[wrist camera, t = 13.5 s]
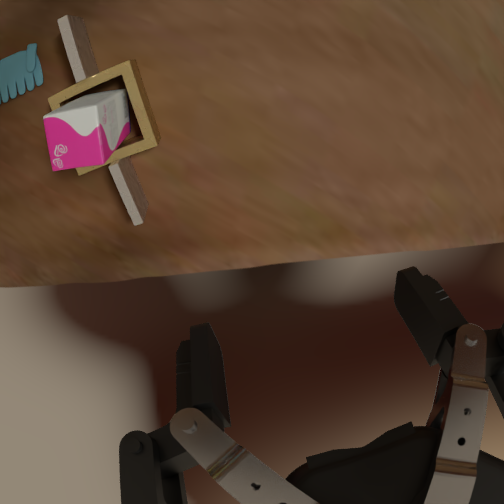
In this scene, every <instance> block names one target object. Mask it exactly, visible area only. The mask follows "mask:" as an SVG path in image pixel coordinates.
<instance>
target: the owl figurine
mask: <svg viewBox="0 0 504 504" xmlns="http://www.w3.org/2000/svg"><path fill="white" fill-rule="evenodd" d="M36 50H37V44H36V43H34V44H29V45H28V46H27V50H26V51H19V52H17V53H15V54H13V55H10V56H8V57H6V58H4V59H2V60H0V92H1V95H0V104H1V97H2V100H3V102H7V101H8V99H9V94H10V97H11V98H12V99H14V98H15V97H16V95H17V88H18V92H19V94H20V95H22V94H24V93H25V91H26V86H27V89H28V90H29V91H32V90H33V89H34V85H35V84H34V78H35V82H36V85H37V86H40V85H42V83H43V74H42V69H41V65H40V61H39V59H38V56H37V54H36ZM33 74H34V75H33ZM25 82H26V86H25ZM16 84H17V88H16ZM8 89H9V93H8Z"/></svg>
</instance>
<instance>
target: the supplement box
mask: <svg viewBox="0 0 504 504" xmlns="http://www.w3.org/2000/svg"><path fill="white" fill-rule="evenodd" d="M43 120H44V126H45V133H46V139H47V144H48V149H49V155H50V160H51V165H52V169H53V171H58V170H64V169H71V168H79V167H88V166H97V165H104V164H105V162H106V161H107V160H108V159H109V157H110V156H111V155H112V153H113V152H114V151H115V150H116V149H117V147H118V146H119V145H120V144H121V143H122V141H123V140H124V139H125V138H126V137H127V135H128V134H129V133H130V132H131V127H130V114H129V101H128V91H127V89H118V90H111V91H104V92H98V93H92V94H87V95H84V96H82V97H80V98H78V99H76V100H74V101H71V102H69V103H68V104H66V105H63V106H62V107H60V108H58V109H56V110H54V111H52V112H50V113H48V114H46V115H45V116H43Z"/></svg>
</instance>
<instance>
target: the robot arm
mask: <svg viewBox="0 0 504 504" xmlns="http://www.w3.org/2000/svg"><path fill="white" fill-rule="evenodd" d="M394 302H395V306H396V308H397V310H398V312H399V314H400V315H401V317H402V318H403V320H404V322H405V323H406V325H407V327H408V328H409V330H410V332H411V333H412V335H413V337H414V339H415V340H416V342H417V344H418V346H419V347H420V349H421V351H422V353H423V354H424V356H425V358H426V360H427V362H428V363H429V365H430V366H433V365H435V364H437V363H439V365H440V366H441V369H440V372H439V377H438V382H437V387H436V392H435V397H434V402H433V406H432V410H431V412H430V414H429V417H428V420H427V422H426V426H415V427H413V424H412V422H409V423H407V424H404V425H402V426H399V427H397V428H394V429H392V430H389V431H387V432H385V433H384V434H383V435H381V436H380V437H378V438H377V439H375V440H374V441H372V442H371V443H369V444H367V445H366V446H364V447H361V448H350V449H337V450H331V451H327V452H324V453H320V454H317V455H313V456H309V457H306V459H307V463H305V464H303V465H301V466H299V467H298V468H296V469H295V470H294V471H293V472H292V473H290V474H289V475H288V477H287V478H286V479H284V478H282V477H281V476H279V475H278V474H277V473H275V472H274V471H273V470H272V469H270V468H269V467H268V466H266V465H265V464H264V463H262V462H261V461H260V460H258V459H257V458H256V457H255V456H254V455H252V454H251V453H250V452H249V451H247V450H246V449H245V448H243V447H242V446H240V445H238V444H237V443H236V442H235V441H234V440H232V439H231V438H230V437H229V436H228V435H227V434H226V433H224V428H225V427H230V426H231V422H230V414H229V406H228V398H227V390H226V382H225V373H224V364H223V356H222V351H221V348H220V345H219V343H218V341H217V338H216V336H215V334H214V332H213V330H212V328H211V326H210V324H209V323H208V322H207V323H203V324H199V325H194V326H191V327H190V340H186V341H182V342H181V343H180V346H179V348H178V350H177V352H176V354H177V355H176V356H177V357H176V364H177V366H176V373H177V375H176V378H177V379H176V385H177V386H176V389H177V390H176V391H177V409H176V413H175V415H174V416H173V418H172V419H171V421H170V422H169V423H168V424H167V425H165V426H163V427H162V428H159V429H157V430H155V431H153V432H151V433H148V434H146V433H145V432H142V431H132V432H129V433H128V434H126V435H125V436H124V437H123V438H122V440H121V442H120V446H119V463H120V488H121V504H187V497H186V490H185V483H184V477H183V471H185V470H187V469H190V468H192V467H194V466H196V465H198V464H200V465H201V466H202V467H203V468H204V469H206V470H207V472H208V473H209V474H210V476H211V477H212V478H214V479H215V481H216V482H217V483H219V484H220V485H221V486H222V487H223V488H224V489H225V490H226V491H227V492H228V493H230V494H231V495H232V496H233V497H234V498H235V499H236V500H238V501H239V502H240V503H241V504H504V461H503V460H501V459H499V458H496V457H494V456H492V455H490V454H488V453H486V452H484V451H482V450H479V449H480V444H481V439H482V433H483V428H484V421H485V415H486V407H487V399H488V389H490V391H491V393H492V395H493V397H494V399H495V401H496V403H497V405H498V407H499V409H500V412H501V414H502V416H503V418H504V323H503V325H502V327H501V328H500V329H492V330H483V329H482V328H480V327H479V326H477V325H475V324H469V323H468V322H467V321H466V319H465V318H464V317H463V316H462V314H461V313H460V311H459V310H458V308H457V307H456V306H455V304H454V303H453V302H452V300H451V299H450V298H449V297H448V295H447V294H446V292H445V291H443V288H442V287H441V286H440V284H439V283H438V282H437V281H436V280H435V279H433V278H431V277H430V276H428V275H424V276H422V274H421V273H420V272H419V271H418V269H417V268H416V267H410V268H407V269H404V270H400V271H398V273H397V277H396V285H395V292H394ZM484 379H485V381H486V382H485V381H484Z"/></svg>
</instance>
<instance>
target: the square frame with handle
mask: <svg viewBox="0 0 504 504" xmlns="http://www.w3.org/2000/svg"><path fill="white" fill-rule="evenodd" d="M57 21H58V25H59V28H60V32H61V35H62V39H63V42H64V46H65V49H66V52H67V56H68V59H69V62H70V65H71V68H72V71H73V74H74V77H75V80H76V84H74V85H72V86H70V87H68V88H67V89H65V90H63V91H61V92H59V93H57V94H55V95H53V96H51V97H50V98H48V101H49V104H50V107H51V109H52V111H54V110H56V109H58V108H60V107H62V106H63V105H66V104H68V103H69V102H71V99H70V98H72V97H74V96H76V95H78V94H80V93H82V92H84V91H86V90H88V89H90V88H93V87H95V86H97V85H99V84H102V83H104V82H106V81H108V80H111V79H113V78H116V77H118V76H120V75H122V76H123V79H124V82H125V85H126V88H127V91H128V94H129V97H130V100H131V103H132V106H133V109H134V112H135V115H136V118H137V121H138V124H139V126H140V129H141V132H142V135H139V136H136V137H134V138H131V139H128V140H126V141H123V142H122V143H121V144H120V145H119V146H118V147H117V149H116V150H115V151H114V152H113V153H112V155H111V156H110V157H109V159H108V160H107V161H106V162H105V164H104V165H106V164H109V163H111V162H112V163H111V164H110V165H109V167H108V168H109V170H110V172H111V175H112V177H113V179H114V182H115V184H116V186H117V188H118V191H119V193H120V195H121V197H122V200H123V202H124V204H125V206H126V208H127V211H128V213H129V215H130V217H131V219H132V221H133V224H134V226H135V225H139V224H142V223H144V219H145V215H146V212H147V208H148V205H149V203H148V201H147V199H146V196H145V194H144V191H143V189H142V187H141V184H140V182H139V179H138V177H137V174H136V172H135V169H134V167H133V164H132V162H131V159H130V157H129V156H130V155H133V154H135V153H138V152H141V151H144V150H147V149H149V148H152V147H155V146H158V144H159V141H160V139H161V136H160V133H159V130H158V127H157V124H156V121H155V118H154V115H153V112H152V109H151V106H150V103H149V100H148V97H147V94H146V91H145V88H144V85H143V81H142V78H141V75H140V72H139V69H138V66H137V62H136V60H129V61H126V62H124V63H121V64H119V65H116V66H114V67H111V68H109V69H107V70H104V71H102V72H100V73H99V70H98V67H97V64H96V61H95V58H94V54H93V51H92V48H91V45H90V41H89V38H88V34H87V31H86V28H85V24H84V21H83V18H81V17H76V16H71V15H65V16H64V17H62V18H60V19H58V20H57ZM80 81H81V82H80ZM77 82H79V83H77ZM104 165H97V166H88V167H79V168H76V170H77V173H78V175H79V176H80V175H82V174H84V173H87V172H89V171H92V170H94V169H96V168H99V167H101V166H104Z"/></svg>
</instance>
